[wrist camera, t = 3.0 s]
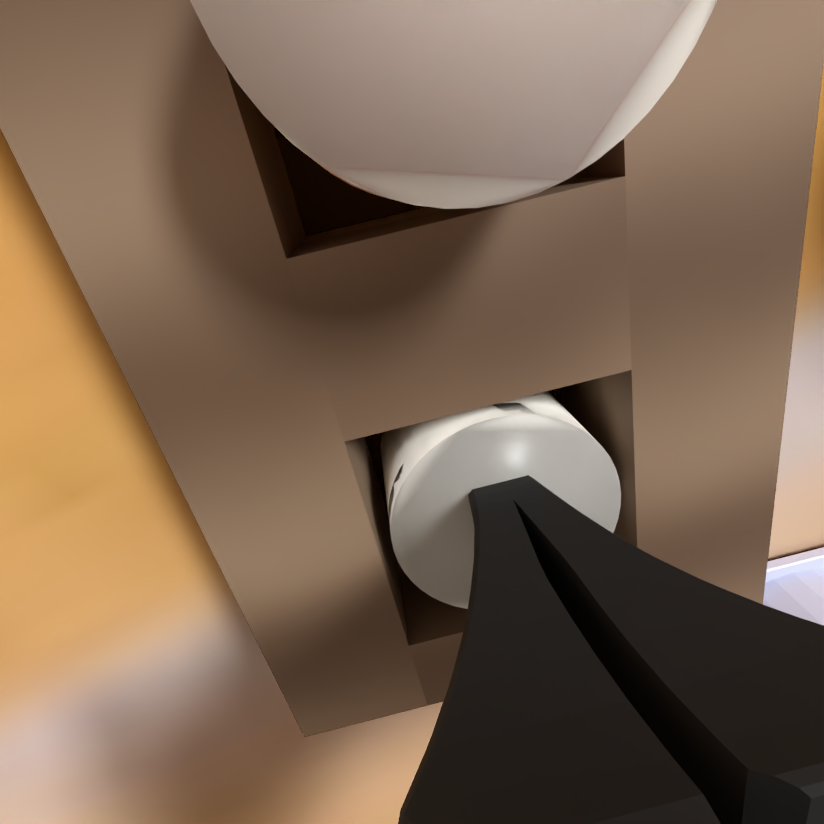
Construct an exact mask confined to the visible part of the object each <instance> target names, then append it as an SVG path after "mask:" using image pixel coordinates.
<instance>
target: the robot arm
mask: <svg viewBox="0 0 824 824" xmlns="http://www.w3.org/2000/svg"><path fill="white" fill-rule="evenodd" d="M468 498H469V502H470V507H471V512H472V517H473V522H474V563H473V572H472V581H471V591H470V597H469V604H468V610H467V615H466V620H465V625H464V630H463V635H462V639H461V643H460V647H459V651H458V655H457V659H456V663H455V666H454V670H453V673H452V677H451V680H450V684H449V687H448V690H447V693H446V696H445V699H444V702H443V704H442V707H441V710H440V713H439V716H438V719H437V722H436V725H435V728H434V731H433V734H432V736H431V739H430V741H429V744H428V747H427V749H426V752H425V754H424V756H423V759H422V761H421V763H420V766H419V768H418V770H417V773H416V775H415V777H414V780H413V782H412V785H411V787H410V789H409V792H408V794H407V796H406V799H405V801H404V803H403V806H402V808H401V811H400V817H399V822H398V824H824V547H822V548H818V549H814V550H810V551H807V552H803V553H799V554H795V555H791V556H787V557H783V558H779V559H775V560H771V561H768V563H767V571H766V580H765V589H764V598H763V604H760V603H758V602H755V601H753V600H750V599H748V598H745V597H743V596H740V595H738V594H735V593H733V592H730V591H728V590H725V589H723V588H720V587H718V586H716V585H713V584H711V583H709V582H706V581H704V580H702V579H699V578H697V577H695V576H693V575H691V574H689V573H687V572H685V571H683V570H680V569H678V568H676V567H674V566H672V565H670V564H668V563H666V562H664V561H662V560H660V559H658V558H656V557H654V556H652V555H650V554H648V553H646V552H644V551H643V550H641V549H639V548H637V547H636V546H634V545H632V544H630V543H629V542H627V541H625V540H624V539H622V538H620V537H618V536H617V535H615V534H614V533H612V532H610V531H609V530H607V529H605V528H604V527H602V526H601V525H599V524H598V523H596V522H595V521H593V520H592V519H590V518H589V517H587V516H586V515H584V514H582V513H581V512H580V511H578V510H577V509H575V508H574V507H572V506H571V505H569V504H568V503H567V502H565V501H564V500H562V499H561V498H560V497H558V496H557V495H555V494H554V493H553V492H551V491H550V490H549V489H547V488H546V487H545V486H543V485H542V484H541V483H539V482H538V481H537V480H535V479H534V478H532V477H531V476H529V475H527V476H523V477H519V478H515V479H511V480H507V481H503V482H499V483H495V484H491V485H488V486H484V487H480V488H476V489H472V490H471V492H470V493H469V494H468Z"/></svg>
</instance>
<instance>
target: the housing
mask: <svg viewBox="0 0 824 824" xmlns="http://www.w3.org/2000/svg"><path fill="white" fill-rule="evenodd" d="M823 64H824V0H717V2H716V4H715V7H714V9H713V11H712V13H711V15H710V17H709V19H708V21H707V23H706V25H705V27H704V29H703V31H702V33H701V35H700V37H699V39H698V41H697V43H696V45H695V47H694V48H693V50H692V52H691V53H690V55H689V56H688V58H687V60H686V61H685V63H684V64H683V66H682V68H681V69H680V71H679V72H678V74H677V76H676V77H675V79H674V80H673V82H672V83H671V84H670V86H669V87H668V88H667V90H666V91H665V92H664V93H663V95H662V96H661V97H660V99H659V100H658V101H657V102H656V104H655V105H654V106H653V108H652V109H651V110H650V112H649V113H648V114H647V115H646V116H645V117H644V118H643V119H642V120H641V121H640V122H639V123H638V124H637V125H636V126H635V127H634V128H633V129H632V130H631V131H630V132H629V133H628V134H627V135H626V136H625V138H624V139H622V140H621V141H620V142H619V143H617V144H616V145H615V146H614V147H613V148H611V149H610V150H609V151H608V152H607V153H605V154H604V155H603V156H602V157H601V158H599V159H598V160H597V161H595V162H594V163H592V164H591V165H589V166H588V167H586V168H585V169H583V170H581V171H580V172H578V173H577V174H575V175H574V176H572V177H570V178H569V179H567V180H565V181H563V182H561V183H559V184H557V185H554V186H552V187H550V188H548V189H546V190H544V191H542V192H540V193H537V194H534V195H531V196H528V197H525V198H521V199H518V200H515V201H512V202H509V203H504V204H498V205H492V206H486V207H480V208H459V209H443V208H434V207H425V208H421V209H417V210H413V211H409V212H405V213H401V214H397V215H393V216H388V217H384V218H380V219H376V220H372V221H368V222H364V223H360V224H356V225H351V226H347V227H343V228H339V229H335V230H331V231H327V232H323V233H319V234H315V235H310V236H305V232H304V229H303V225H302V222H301V219H300V215H299V212H298V208H297V205H296V202H295V198H294V195H293V191H292V188H291V185H290V181H289V178H288V174H287V171H286V168H285V164H284V161H283V158H282V154H281V151H280V147H279V144H278V141H277V137H276V134H275V130H274V127H273V124H272V123H271V122H270V121H269V120H268V119H267V118H266V117H265V116H264V115H263V114H262V113H261V112H260V111H259V109H258V108H257V107H256V106H255V104H254V103H253V102H252V101H251V99H250V98H249V97H248V96H247V94H246V93H245V92H244V91H243V90H242V88H241V87H240V86H239V85H238V83H237V82H236V81H235V79H234V78H233V76H232V74H231V73H230V71H229V70H228V68H227V67H226V65H225V63H224V62H223V60H222V59H221V57H220V56H219V54H218V53H217V51H216V49H215V48H214V46H213V45H212V43H211V41H210V39H209V37H208V35H207V33H206V31H205V29H204V27H203V25H202V23H201V21H200V19H199V17H198V15H197V13H196V11H195V9H194V7H193V5H192V3H191V1H190V0H0V129H1V131H2V133H3V135H4V137H5V139H6V141H7V143H8V145H9V147H10V149H11V151H12V153H13V155H14V157H15V159H16V161H17V163H18V165H19V167H20V169H21V171H22V173H23V175H24V177H25V179H26V181H27V183H28V185H29V187H30V189H31V191H32V193H33V195H34V197H35V199H36V201H37V203H38V205H39V207H40V209H41V211H42V213H43V215H44V217H45V219H46V221H47V223H48V225H49V227H50V229H51V231H52V233H53V235H54V237H55V239H56V241H57V243H58V245H59V247H60V249H61V251H62V253H63V255H64V257H65V259H66V261H67V263H68V265H69V267H70V269H71V271H72V273H73V275H74V277H75V279H76V281H77V283H78V285H79V287H80V289H81V291H82V293H83V295H84V297H85V299H86V301H87V303H88V305H89V307H90V309H91V311H92V313H93V315H94V317H95V319H96V321H97V323H98V325H99V327H100V329H101V331H102V333H103V335H104V337H105V339H106V341H107V343H108V345H109V347H110V349H111V351H112V353H113V355H114V357H115V359H116V361H117V363H118V365H119V367H120V369H121V371H122V373H123V375H124V377H125V379H126V381H127V383H128V385H129V387H130V389H131V391H132V393H133V395H134V397H135V399H136V401H137V403H138V405H139V407H140V409H141V411H142V413H143V415H144V417H145V419H146V421H147V423H148V425H149V427H150V429H151V431H152V433H153V435H154V437H155V439H156V441H157V443H158V445H159V447H160V449H161V451H162V453H163V455H164V457H165V459H166V461H167V463H168V465H169V467H170V469H171V471H172V473H173V475H174V477H175V479H176V481H177V483H178V485H179V487H180V489H181V491H182V493H183V495H184V497H185V499H186V501H187V503H188V505H189V507H190V509H191V511H192V513H193V515H194V517H195V519H196V521H197V523H198V525H199V527H200V529H201V531H202V533H203V535H204V537H205V539H206V541H207V543H208V545H209V547H210V549H211V551H212V553H213V555H214V557H215V559H216V561H217V563H218V565H219V567H220V569H221V571H222V573H223V575H224V577H225V579H226V581H227V583H228V585H229V587H230V589H231V591H232V593H233V595H234V597H235V599H236V601H237V603H238V605H239V607H240V609H241V611H242V613H243V615H244V617H245V619H246V621H247V623H248V625H249V627H250V629H251V631H252V633H253V635H254V637H255V639H256V641H257V643H258V645H259V647H260V649H261V651H262V653H263V655H264V657H265V659H266V661H267V663H268V665H269V667H270V669H271V671H272V673H273V675H274V677H275V679H276V681H277V683H278V685H279V687H280V689H281V691H282V693H283V695H284V697H285V699H286V701H287V703H288V705H289V707H290V709H291V711H292V713H293V715H294V717H295V719H296V721H297V723H298V725H299V727H300V729H301V731H302V733H303V735H304V737H307V736H311V735H315V734H319V733H322V732H326V731H330V730H334V729H338V728H342V727H346V726H350V725H353V724H357V723H361V722H365V721H369V720H373V719H377V718H381V717H384V716H388V715H392V714H396V713H400V712H404V711H408V710H412V709H415V708H419V707H423V706H427V705H431V704H435V703H439V702H443V701H444V699H445V696H446V693H447V690H448V687H449V684H450V680H451V677H452V673H453V670H454V666H455V663H456V659H457V655H458V651H459V647H460V643H461V639H462V635H463V630H464V625H465V620H466V615H467V610H468V609H465V608H460V607H456V606H452V605H449V604H447V603H444V602H441V601H439V600H437V599H435V598H433V597H431V596H430V595H428V594H427V593H425V592H424V591H422V590H421V589H420V588H418V587H417V586H416V585H415V584H414V583H413V582H412V581H411V580H410V579H409V577H408V576H407V575H406V574H405V573H404V571H403V569H402V568H401V566H400V564H399V563H398V560H397V558H396V555H395V553H394V550H393V545H392V540H391V534H390V525H389V517H388V514H387V510H386V507H385V504H384V500H383V497H382V494H381V490H380V487H379V483H378V480H377V477H376V473H375V470H374V466H373V463H372V460H371V456H370V453H369V449H368V446H367V443H366V439H365V436H369V435H373V434H377V433H381V432H385V431H389V430H393V429H397V428H401V427H405V426H409V425H413V424H417V423H421V422H425V421H429V420H433V419H437V418H441V417H445V416H449V415H453V414H457V413H461V412H465V411H469V410H473V409H477V408H481V407H485V406H489V405H493V404H497V403H501V402H505V401H509V400H513V399H517V398H521V397H525V396H529V395H533V394H537V393H541V392H545V391H549V390H553V389H557V388H560V391H561V401H562V406H563V407H564V408H565V409H566V410H567V411H568V412H569V413H570V414H571V415H572V416H573V417H574V418H575V419H576V420H577V421H578V422H579V423H580V424H581V425H582V426H583V427H584V428H585V429H586V430H587V431H588V432H589V433H590V434H591V435H592V436H593V437H594V438H595V440H596V441H597V442H598V443H599V444H600V445H601V446H602V447H603V448H604V449H605V451H606V452H607V453H608V455H609V456H610V458H611V460H612V462H613V464H614V466H615V468H616V471H617V474H618V477H619V481H620V489H621V507H620V512H619V518H618V521H617V524H616V527H615V530H614V532H613V533H614V534H615V535H617V536H618V537H620V538H622V539H624V540H625V541H627V542H629V543H630V544H632V545H634V546H636V547H637V548H639V549H641V550H643V551H644V552H646V553H648V554H650V555H652V556H654V557H656V558H658V559H660V560H662V561H664V562H666V563H668V564H670V565H672V566H674V567H676V568H678V569H680V570H683V571H685V572H687V573H689V574H691V575H693V576H695V577H697V578H699V579H702V580H704V581H706V582H709V583H711V584H713V585H716V586H718V587H720V588H723V589H725V590H728V591H730V592H733V593H735V594H738V595H740V596H743V597H745V598H748V599H750V600H753V601H755V602H758V603H760V604H763V598H764V589H765V580H766V571H767V563H768V554H769V545H770V536H771V527H772V518H773V509H774V500H775V491H776V482H777V474H778V465H779V456H780V447H781V438H782V429H783V420H784V411H785V402H786V393H787V385H788V376H789V367H790V358H791V349H792V340H793V331H794V322H795V313H796V304H797V295H798V287H799V278H800V269H801V260H802V251H803V242H804V233H805V224H806V215H807V206H808V198H809V189H810V180H811V171H812V162H813V153H814V144H815V135H816V126H817V117H818V109H819V100H820V91H821V82H822V73H823Z"/></svg>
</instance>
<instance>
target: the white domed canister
mask: <svg viewBox="0 0 824 824" xmlns="http://www.w3.org/2000/svg"><path fill="white" fill-rule="evenodd" d="M381 459H382V467H383V476H384V484H385V492H386V500H387V509H388V517H389V525H390V534H391V540H392V545H393V550H394V553H395V555H396V558H397V560H398V563H399V564H400V566H401V568H402V569H403V571H404V573H405V574H406V575H407V576H408V577H409V579H410V580H411V581H412V582H413V583H414V584H415V585H416V586H417V587H418V588H420V589H421V590H422V591H424V592H425V593H427V594H428V595H430V596H431V597H433V598H435V599H437V600H439V601H441V602H444V603H447V604H449V605H452V606H456V607H460V608H465V609H468V604H469V597H470V591H471V581H472V572H473V563H474V522H473V517H472V512H471V507H470V502H469V498H468V494H469V493H470V492H471V490H472V489H476V488H480V487H484V486H488V485H491V484H495V483H499V482H503V481H507V480H511V479H515V478H519V477H523V476H527V475H529V476H531V477H532V478H534V479H535V480H537V481H538V482H539V483H541V484H542V485H543V486H545V487H546V488H547V489H549V490H550V491H551V492H553V493H554V494H555V495H557V496H558V497H560V498H561V499H562V500H564V501H565V502H567V503H568V504H569V505H571V506H572V507H574V508H575V509H577V510H578V511H580V512H581V513H582V514H584V515H586V516H587V517H589V518H590V519H592V520H593V521H595V522H596V523H598V524H599V525H601V526H602V527H604V528H605V529H607V530H609V531H610V532H612V533H613V532H614V530H615V527H616V524H617V521H618V518H619V512H620V507H621V489H620V481H619V477H618V474H617V471H616V468H615V466H614V464H613V462H612V460H611V458H610V456H609V455H608V453H607V452H606V451H605V449H604V448H603V447H602V446H601V445H600V444H599V443H598V442H597V441H596V440H595V438H594V437H593V436H592V435H591V434H590V433H589V432H588V431H587V430H586V429H585V428H584V427H583V426H582V425H581V424H580V423H579V422H578V421H577V420H576V419H575V418H574V417H573V416H572V415H571V414H570V413H569V412H568V411H567V410H566V409H565V408H564V407H563V406H562V405H561V404H560V403H559V402H558V401H557V400H556V399H555V398H554V397H553V396H552V395H551V394H550V393H549V392H548V391H545V392H541V393H537V394H533V395H529V396H525V397H521V398H517V399H513V400H509V401H505V402H501V403H497V404H493V405H489V406H485V407H481V408H477V409H473V410H469V411H465V412H461V413H457V414H453V415H449V416H445V417H441V418H437V419H433V420H429V421H425V422H421V423H417V424H413V425H409V426H405V427H401V428H397V429H393V430H389V431H385V432H383V433H382V438H381Z"/></svg>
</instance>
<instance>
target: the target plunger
mask: <svg viewBox="0 0 824 824" xmlns="http://www.w3.org/2000/svg"><path fill="white" fill-rule="evenodd" d="M190 1H191V3H192V5H193V7H194V9H195V11H196V13H197V15H198V17H199V19H200V21H201V23H202V25H203V27H204V29H205V31H206V33H207V35H208V37H209V39H210V41H211V43H212V45H213V46H214V48H215V49H216V51H217V53H218V54H219V56H220V57H221V59H222V60H223V62H224V63H225V65H226V67H227V68H228V70H229V71H230V73H231V74H232V76H233V78H234V79H235V81H236V82H237V83H238V85H239V86H240V87H241V88H242V90H243V91H244V92H245V93H246V94H247V96H248V97H249V98H250V99H251V101H252V102H253V103H254V104H255V106H256V107H257V108H258V109H259V111H260V112H261V113H262V114H263V115H264V116H265V117H266V118H267V119H268V120H269V121H270V122H271V123H272V124H273V125H274V126H275V127H276V128H277V129H278V130H279V131H280V132H281V133H282V134H283V135H284V136H285V137H286V138H287V139H288V140H289V141H290V142H291V143H292V144H293V145H295V146H296V147H297V148H299V149H300V150H301V151H302V152H304V153H305V154H306V155H308V156H309V157H310V158H311V159H313V160H314V161H315V162H317V163H318V164H319V165H321V166H322V167H323V168H324V169H326V170H327V171H328V172H330V173H331V174H332V175H334V176H336V177H337V178H339V179H341V180H343V181H344V182H346V183H348V184H349V185H351V186H354V187H356V188H358V189H361V190H363V191H366V192H368V193H371V194H374V195H378V196H382V197H385V198H389V199H393V200H397V201H401V202H404V203H408V204H412V205H417V206H426V207H434V208H443V209H459V208H480V207H486V206H492V205H498V204H504V203H509V202H512V201H515V200H518V199H521V198H525V197H528V196H531V195H534V194H537V193H540V192H542V191H544V190H546V189H548V188H550V187H552V186H554V185H557V184H559V183H561V182H563V181H565V180H567V179H569V178H570V177H572V176H574V175H575V174H577V173H578V172H580V171H581V170H583V169H585V168H586V167H588V166H589V165H591V164H592V163H594V162H595V161H597V160H598V159H599V158H601V157H602V156H603V155H604V154H605V153H607V152H608V151H609V150H610V149H611V148H613V147H614V146H615V145H616V144H617V143H619V142H620V141H621V140H622V139H624V138H625V136H626V135H627V134H628V133H629V132H630V131H631V130H632V129H633V128H634V127H635V126H636V125H637V124H638V123H639V122H640V121H641V120H642V119H643V118H644V117H645V116H646V115H647V114H648V113H649V112H650V110H651V109H652V108H653V106H654V105H655V104H656V102H657V101H658V100H659V99H660V97H661V96H662V95H663V93H664V92H665V91H666V90H667V88H668V87H669V86H670V84H671V83H672V82H673V80H674V79H675V77H676V76H677V74H678V72H679V71H680V69H681V68H682V66H683V64H684V63H685V61H686V60H687V58H688V56H689V55H690V53H691V52H692V50H693V48H694V47H695V45H696V43H697V41H698V39H699V37H700V35H701V33H702V31H703V29H704V27H705V25H706V23H707V21H708V19H709V17H710V15H711V13H712V11H713V9H714V7H715V4H716V2H717V0H190Z"/></svg>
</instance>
